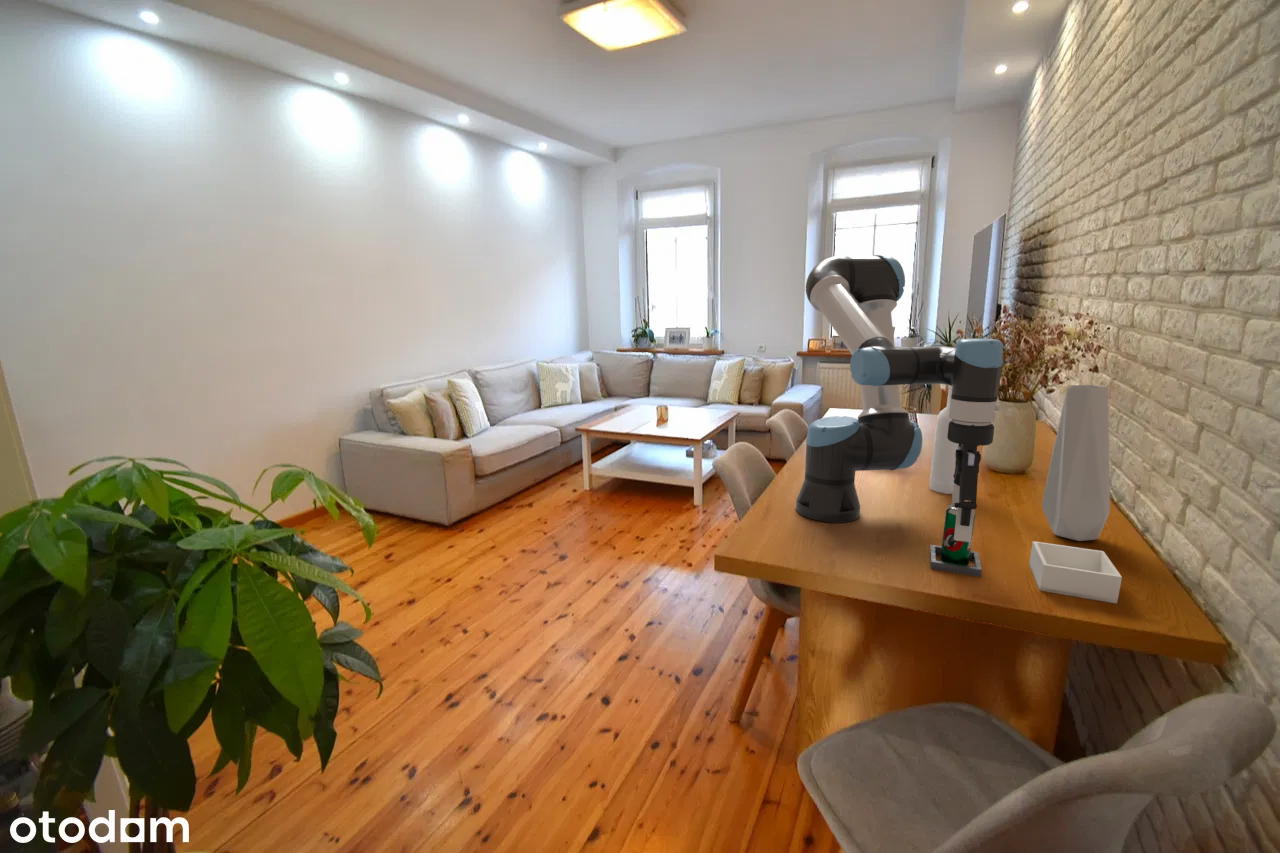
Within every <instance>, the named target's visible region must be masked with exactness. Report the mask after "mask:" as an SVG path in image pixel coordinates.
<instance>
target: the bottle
mask: <svg viewBox="0 0 1280 853" xmlns="http://www.w3.org/2000/svg"><path fill="white" fill-rule="evenodd" d="M947 387H948V390H947V391H948V393H947V400H946V406H945V407H944V408H943V409H942V410H940V412H939V413H938V414H937V417H936V422H935V431H934V432H935V433H934V440H933V447H932V448H933V450H932V459H931V469H930V475H929V485H928V488H929V489H930V490H932V491H933V492H936V493H939V494H945V495H953V486H954V485H957V484H954V477H953V475H954V473H955V466H956V465H955V463H956V457H955V455H956V449H958V446H959V444H957V443H954V442H951V441H949V440H948V438H947V435H948V426H949V422H950V421H952V419H950V418H949V412H950V403H951V396H952V386H950V385H947Z"/></svg>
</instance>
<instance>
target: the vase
mask: <svg viewBox="0 0 1280 853" xmlns="http://www.w3.org/2000/svg"><path fill="white" fill-rule="evenodd" d="M1063 400H1064V401H1063V404H1062V409H1061V413H1060V418H1059V423H1058V426H1057V432H1056V436H1055V437H1056V438H1055V440H1054V444H1053V445H1054V446H1053V449H1052V455H1051V460H1050V464H1049V469H1048V474H1047V477H1046V478H1047V479H1046V483H1045V487H1044V492H1043V497H1042V503H1041V508H1042V511H1043V514H1044V516H1045V518H1046V520H1047V522H1048V524H1049V527H1050V528H1051V531H1052V532H1053V534H1054V535H1055V536H1058V537H1060V538H1061V537H1062V538H1064V539H1069V540H1072V541H1077V542H1083V541H1093V540H1098V539H1099V537H1100V535H1101V534H1102V531H1103V530H1104V526H1105V525H1106V522H1107V519H1108V517H1109V515H1110V512H1111V510H1110V509H1111V496H1110V495H1111V494H1110V493H1111V492H1110V490H1111V489H1110V486H1111V485H1110V484H1111V482H1110V429H1109V426H1110V425H1109V423H1110V422H1109V389H1108V386H1106V385H1105V386H1104V385H1098V384H1096V385H1095V384H1072V385H1068V386H1067V387H1066V391H1065V394H1064V399H1063Z"/></svg>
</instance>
